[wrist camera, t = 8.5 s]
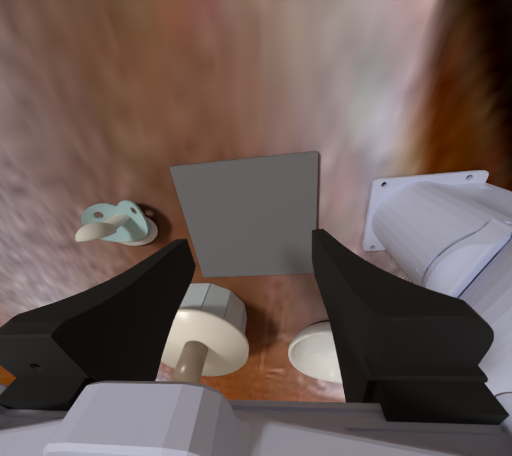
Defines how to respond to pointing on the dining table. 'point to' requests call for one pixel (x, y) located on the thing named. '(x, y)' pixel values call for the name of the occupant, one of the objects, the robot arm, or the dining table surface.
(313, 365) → the spoon rest
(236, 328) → the lid
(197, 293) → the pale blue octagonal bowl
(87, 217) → the pacifier
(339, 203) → the dining table surface
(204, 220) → the mat
